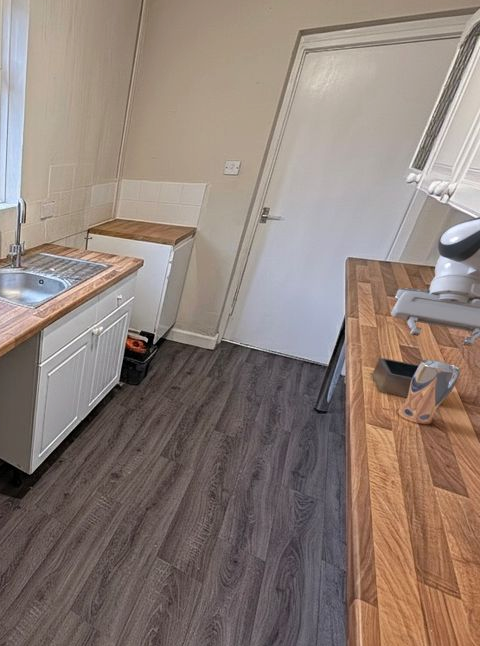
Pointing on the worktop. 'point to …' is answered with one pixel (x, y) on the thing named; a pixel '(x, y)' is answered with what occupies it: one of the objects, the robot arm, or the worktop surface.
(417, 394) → the metal tumbler
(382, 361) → the dark gray square tray
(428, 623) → the worktop surface
